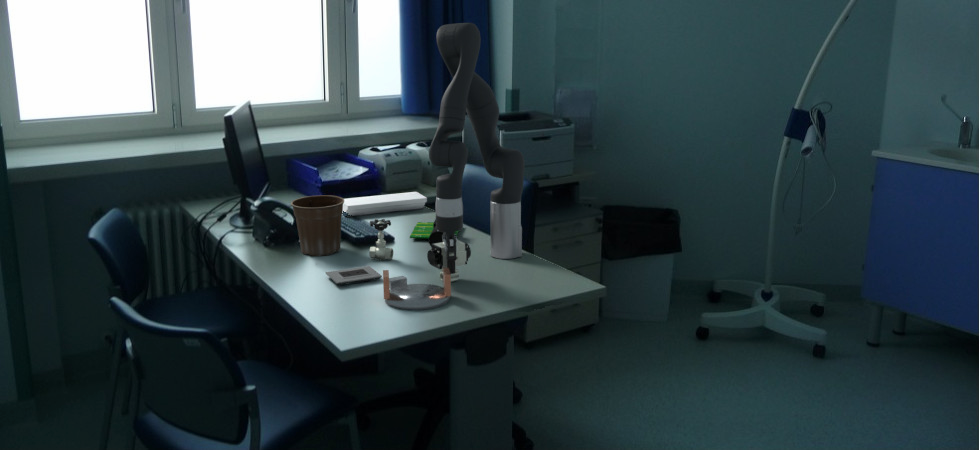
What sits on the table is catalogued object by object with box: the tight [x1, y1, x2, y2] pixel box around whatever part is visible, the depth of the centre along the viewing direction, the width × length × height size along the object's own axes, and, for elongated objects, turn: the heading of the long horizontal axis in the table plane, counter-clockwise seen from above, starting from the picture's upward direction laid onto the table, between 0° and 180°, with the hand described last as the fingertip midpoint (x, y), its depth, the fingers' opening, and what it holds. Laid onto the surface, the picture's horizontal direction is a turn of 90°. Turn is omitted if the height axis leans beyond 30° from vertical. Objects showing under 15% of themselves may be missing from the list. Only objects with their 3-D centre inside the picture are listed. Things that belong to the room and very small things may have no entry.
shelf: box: [343, 191, 428, 217], centre depth 329 cm, size 12×30×5 cm, turn 115°
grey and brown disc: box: [382, 268, 452, 312], centre depth 236 cm, size 18×17×8 cm
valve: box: [368, 218, 394, 261], centre depth 270 cm, size 7×7×12 cm
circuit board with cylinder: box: [409, 218, 460, 247], centre depth 293 cm, size 30×7×15 cm
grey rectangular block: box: [389, 275, 408, 290], centre depth 247 cm, size 5×2×2 cm, turn 122°
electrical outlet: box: [325, 265, 383, 286], centre depth 253 cm, size 13×10×2 cm
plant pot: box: [290, 194, 345, 257], centre depth 279 cm, size 16×16×16 cm
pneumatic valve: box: [426, 239, 472, 283], centre depth 250 cm, size 6×12×12 cm, turn 124°
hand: (449, 268), depth 251 cm, fingers open, 8 cm apart
